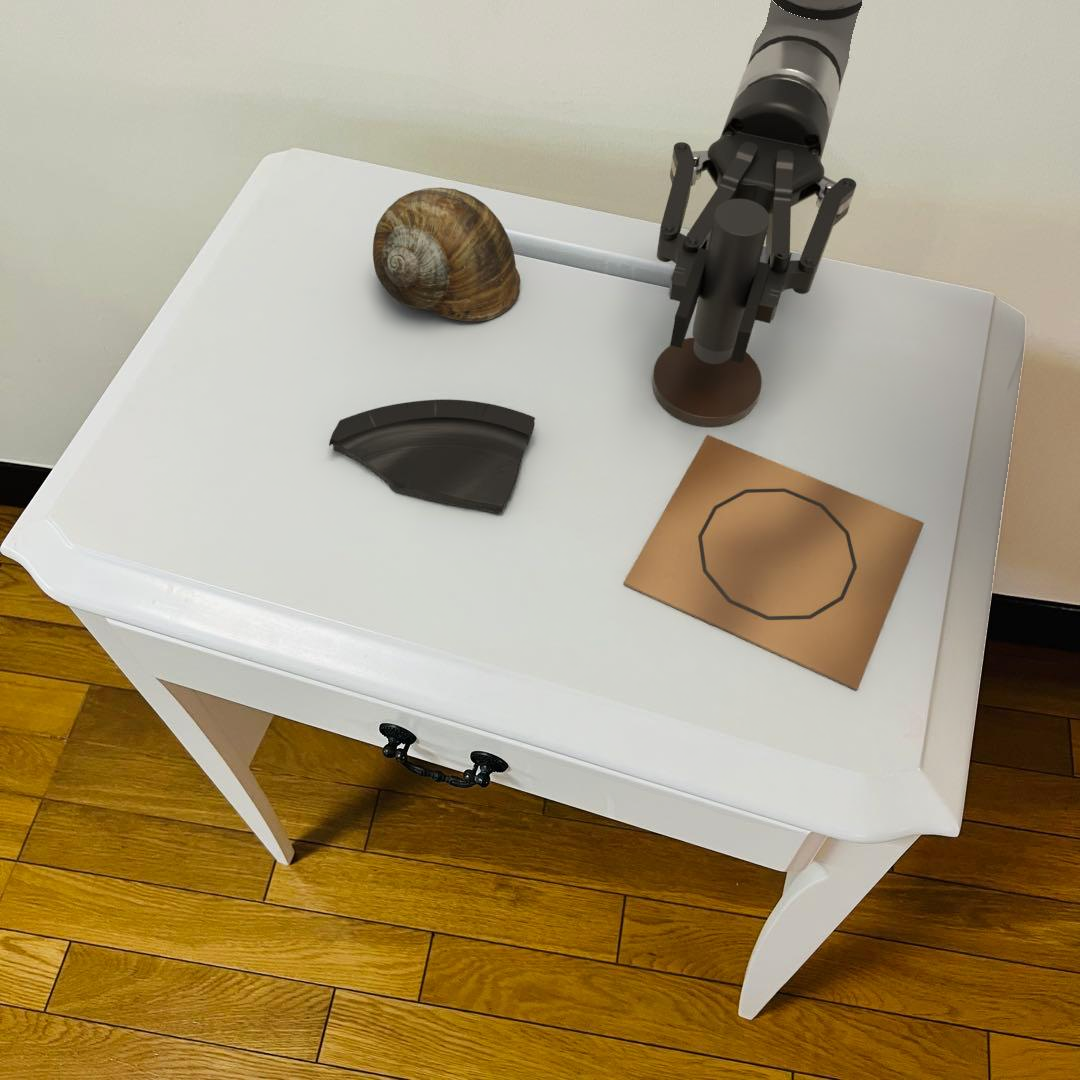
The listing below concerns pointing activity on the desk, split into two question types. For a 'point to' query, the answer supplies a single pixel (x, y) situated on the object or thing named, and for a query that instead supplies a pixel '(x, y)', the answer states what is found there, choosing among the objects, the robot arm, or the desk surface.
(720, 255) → the dot marker
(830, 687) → the desk surface
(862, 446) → the desk surface
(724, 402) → the coaster
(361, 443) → the curved wedge
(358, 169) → the desk surface
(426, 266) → the seashell
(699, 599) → the paper sheet
